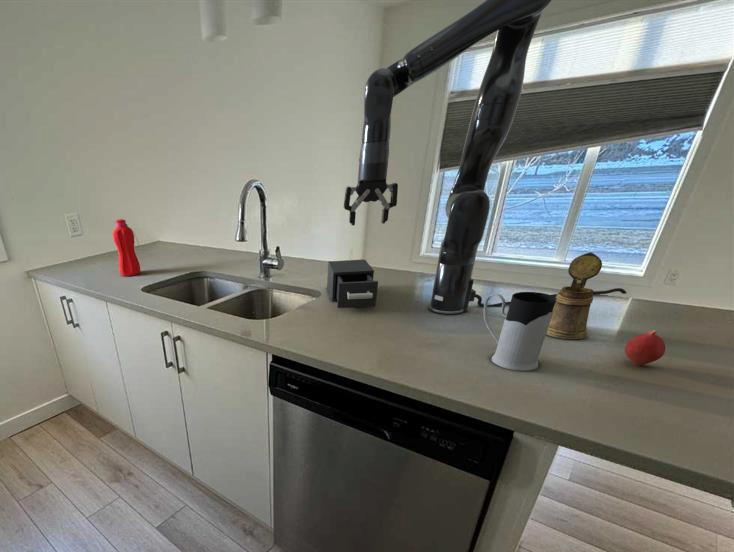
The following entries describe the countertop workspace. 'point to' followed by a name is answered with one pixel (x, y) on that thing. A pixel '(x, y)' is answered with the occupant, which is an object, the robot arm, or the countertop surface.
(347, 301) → the dark grey drawer
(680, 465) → the countertop surface
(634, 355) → the onion
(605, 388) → the countertop surface
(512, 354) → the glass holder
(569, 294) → the wooden mug
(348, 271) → the small drawer cabinet
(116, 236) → the water bottle
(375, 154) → the robot arm
